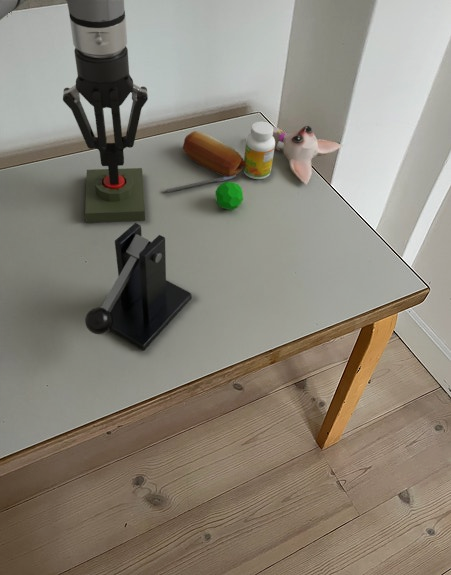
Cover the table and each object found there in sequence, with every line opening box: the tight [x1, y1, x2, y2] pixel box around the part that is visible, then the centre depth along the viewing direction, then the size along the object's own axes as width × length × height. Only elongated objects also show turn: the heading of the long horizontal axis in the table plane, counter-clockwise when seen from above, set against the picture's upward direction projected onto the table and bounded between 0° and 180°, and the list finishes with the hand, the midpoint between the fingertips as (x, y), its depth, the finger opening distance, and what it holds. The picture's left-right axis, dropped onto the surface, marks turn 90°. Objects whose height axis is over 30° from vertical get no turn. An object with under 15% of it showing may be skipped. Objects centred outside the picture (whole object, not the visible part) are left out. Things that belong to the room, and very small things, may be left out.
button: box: [103, 175, 125, 189], centre depth 100 cm, size 4×4×2 cm
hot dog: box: [182, 130, 245, 177], centre depth 110 cm, size 5×13×5 cm
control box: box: [84, 167, 146, 224], centre depth 101 cm, size 12×10×4 cm
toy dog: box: [272, 125, 344, 186], centre depth 112 cm, size 15×8×15 cm
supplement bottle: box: [242, 121, 276, 180], centre depth 107 cm, size 5×5×10 cm
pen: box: [166, 174, 238, 193], centre depth 107 cm, size 1×1×14 cm
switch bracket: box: [108, 222, 193, 351], centre depth 81 cm, size 12×9×15 cm
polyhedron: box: [215, 180, 244, 211], centre depth 102 cm, size 5×5×5 cm
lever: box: [84, 234, 152, 335], centre depth 76 cm, size 14×4×4 cm
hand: (114, 179), depth 99 cm, fingers closed
